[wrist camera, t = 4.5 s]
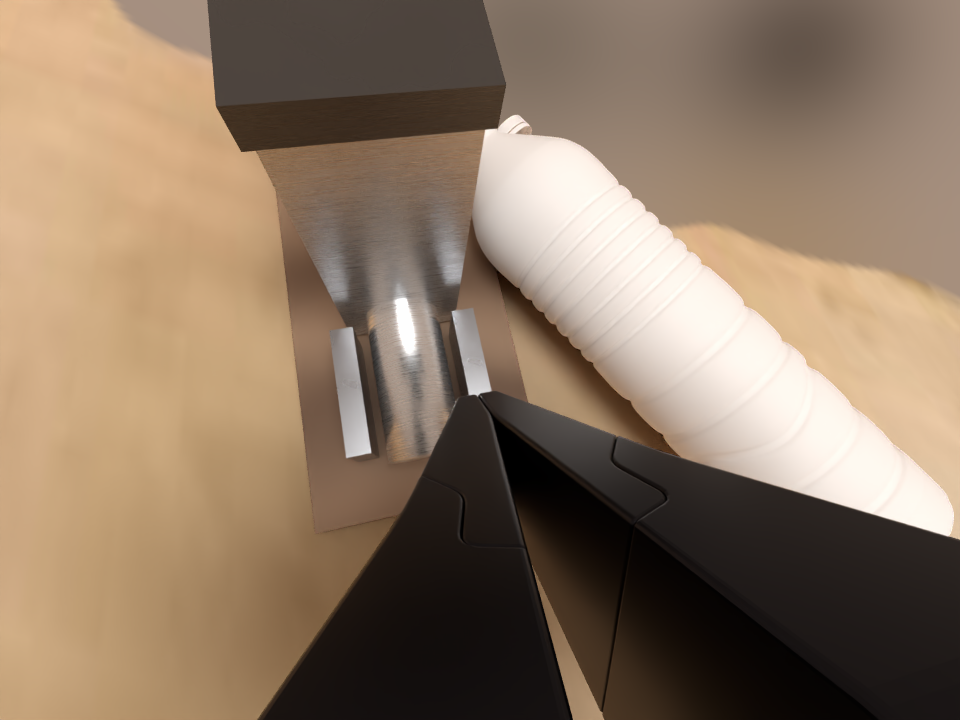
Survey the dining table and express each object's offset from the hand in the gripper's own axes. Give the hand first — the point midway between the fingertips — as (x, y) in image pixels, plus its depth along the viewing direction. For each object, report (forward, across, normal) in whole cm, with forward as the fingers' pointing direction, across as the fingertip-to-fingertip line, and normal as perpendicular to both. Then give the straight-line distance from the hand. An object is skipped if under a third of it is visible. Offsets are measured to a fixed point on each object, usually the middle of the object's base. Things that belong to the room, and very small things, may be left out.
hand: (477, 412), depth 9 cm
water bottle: (+2, +17, -11) cm, 21 cm away
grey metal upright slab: (+12, -1, -3) cm, 12 cm away
